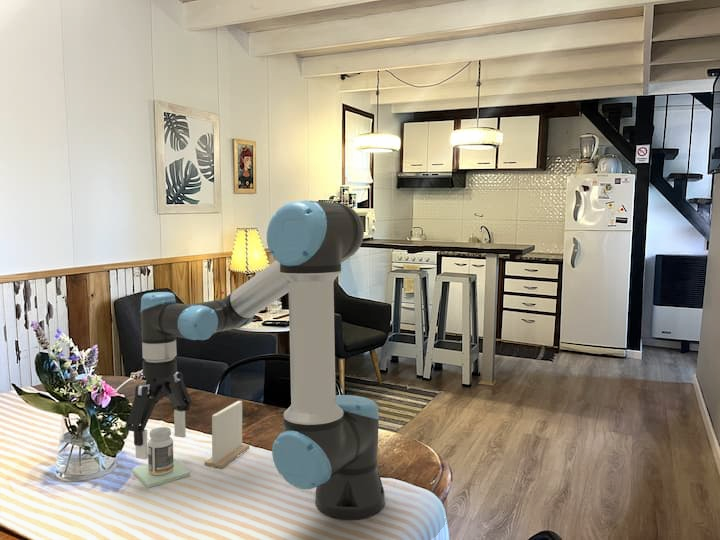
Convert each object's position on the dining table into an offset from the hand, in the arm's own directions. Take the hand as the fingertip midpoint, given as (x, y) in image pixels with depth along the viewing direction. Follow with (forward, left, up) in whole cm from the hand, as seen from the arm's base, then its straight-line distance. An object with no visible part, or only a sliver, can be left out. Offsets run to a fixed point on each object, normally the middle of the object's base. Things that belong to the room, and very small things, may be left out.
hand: (161, 446), depth 132 cm
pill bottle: (0, 0, -6) cm, 6 cm away
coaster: (0, 0, -7) cm, 7 cm away
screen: (0, -17, -7) cm, 18 cm away
